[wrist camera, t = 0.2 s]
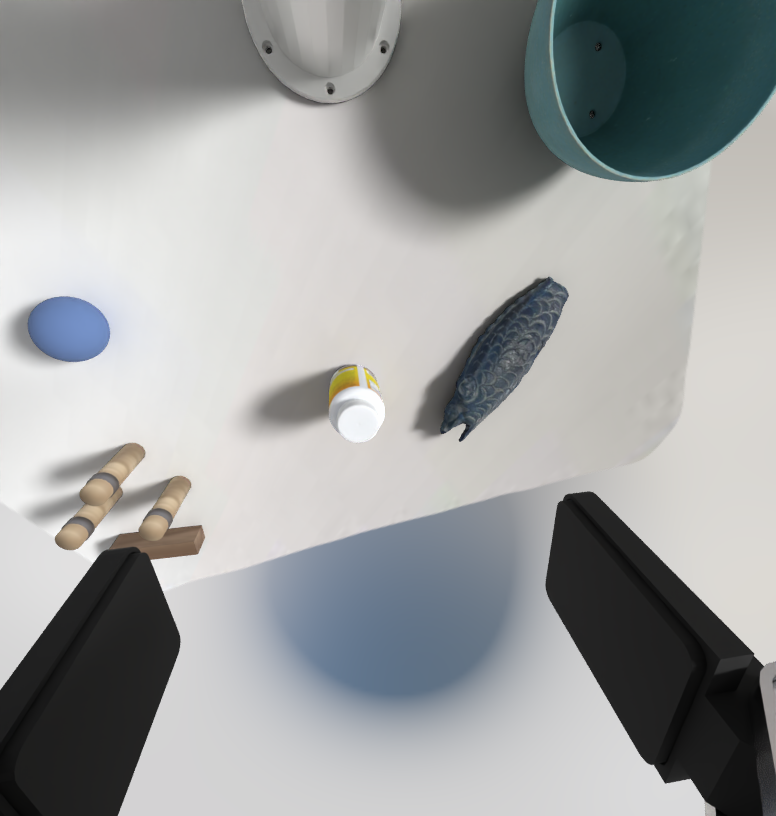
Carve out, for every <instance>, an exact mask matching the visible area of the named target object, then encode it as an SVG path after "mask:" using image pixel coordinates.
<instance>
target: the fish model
mask: <svg viewBox="0 0 776 816" xmlns="http://www.w3.org/2000/svg"><path fill="white" fill-rule="evenodd" d="M568 297H569V295H568V292H567V290H566V288H565V287H563V286H562V285H561V284H558V283H556V282H554V281H553V279H552V278H551V277H548V278H546V280H545V281H544V282H542V283H539V285H538V286H537V287H536V288H534V289H532V290H530V291H528V292H527V294H526V295H525V296H522V297H520V298H518V299H517V300H516V301H515V303H514V304H512V305H510V306H509V307H507V308H506V309H505V311H504V313H503V314H501V315H500V316H498V317H497V319H496V320H495V322H494V324H491V325H490V326H489V327H488V328H487V329H486V332H485V334H483V335H481V336H480V337H479V339H478V342H477V344H476V345H475V346H474V347H473V349H472V352H471V356H470V357H469V358H468V359H467V362H466V365H465V368H464V370H463V372H462V373H461V376H459V379H458V381H457V382H456V388H457V389H456V391H455V395H454V397H453V398H452V400H451V401H450V402H449V403H448V405H447V406H446V409H445V411H444V413H445V415H444V421H443V423H442V425H441V428H440V432H441V434H444V433H446V432H447V431H449V430H451V429H452V428H453V427H456V426H458V425H460V424H462V423H464V424H466V428H465V430H464V432H463V433H462V434H461V437H460V439H459V442H461V441H463V440H464V439H465V438H466V437H467V436H468V434H469V433H470V432H471V431H472V430H474V429H475V427H476V426H477V425H478V424H479V423H481V422H482V421H483V420H484V419H485V418H486V417H487V416H488V415H489V414H490V413H491V412H493V411H494V410H495V409H496V408H497V407H498V406H499V405H500V404H501V403H502V401H504V400H505V399H506V398H507V396H508V395H509V394H510V393H511V392H512V391H513V390H514V389H515V388H516V387H517V386H518V384H519V383H520V381H521V379H522V377H523V376H524V375H525V374H526V373H528V371H529V370H530V368H531V366H532V364H533V362H534V360H535V358H536V357H537V355H538V354H539V352H540V351H541V349H542V348H543V347H544V346H545V344H546V341H547V340H548V339H549V338H550V336H551V334H552V332H553V330H554V328H555V326H556V324H557V321H558V319H559V317H560V315H561V312H562V308H563V306H564V304H565V302H566V301H567V298H568Z"/></svg>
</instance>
